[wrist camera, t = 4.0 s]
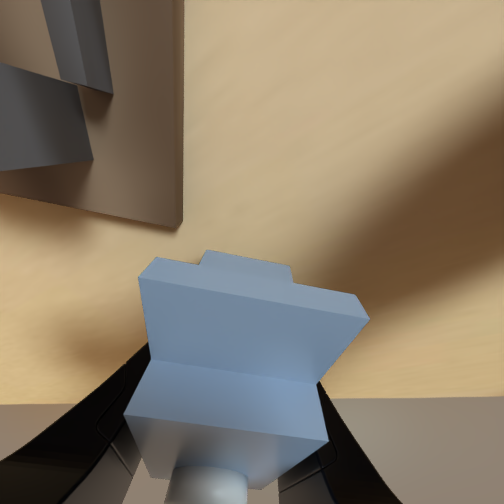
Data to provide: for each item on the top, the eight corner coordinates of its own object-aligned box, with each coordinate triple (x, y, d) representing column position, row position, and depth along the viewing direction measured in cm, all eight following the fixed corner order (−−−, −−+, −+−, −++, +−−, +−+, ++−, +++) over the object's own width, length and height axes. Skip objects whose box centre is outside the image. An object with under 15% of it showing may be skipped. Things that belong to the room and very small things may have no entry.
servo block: (308, 217, 7) (449, 451, 2) (253, 359, 13) (247, 523, 8) (211, 196, 7) (32, 395, 2) (197, 350, 13) (148, 513, 7)
